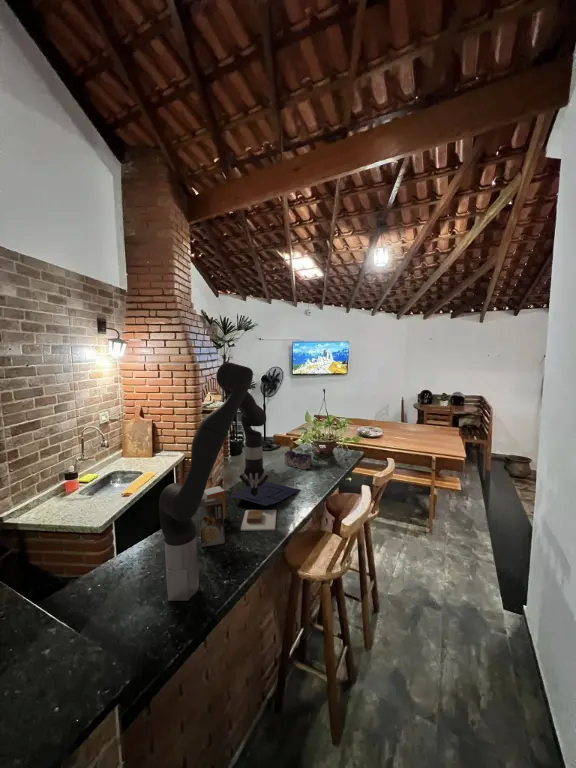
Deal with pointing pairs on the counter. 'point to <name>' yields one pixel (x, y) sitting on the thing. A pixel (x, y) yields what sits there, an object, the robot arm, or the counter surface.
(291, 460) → the geode
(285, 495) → the navy rectangular panel
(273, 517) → the mat
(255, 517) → the slab
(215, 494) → the small box
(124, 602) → the counter surface
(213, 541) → the coffee box
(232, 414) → the robot arm
